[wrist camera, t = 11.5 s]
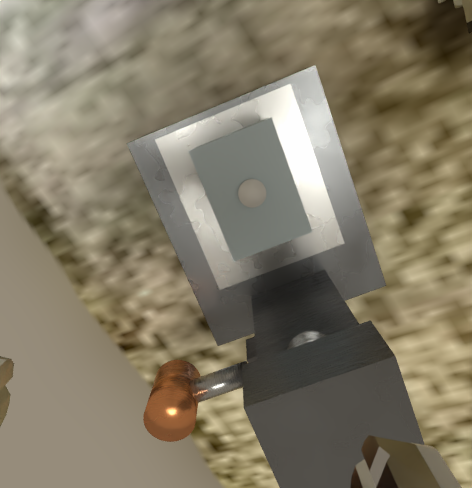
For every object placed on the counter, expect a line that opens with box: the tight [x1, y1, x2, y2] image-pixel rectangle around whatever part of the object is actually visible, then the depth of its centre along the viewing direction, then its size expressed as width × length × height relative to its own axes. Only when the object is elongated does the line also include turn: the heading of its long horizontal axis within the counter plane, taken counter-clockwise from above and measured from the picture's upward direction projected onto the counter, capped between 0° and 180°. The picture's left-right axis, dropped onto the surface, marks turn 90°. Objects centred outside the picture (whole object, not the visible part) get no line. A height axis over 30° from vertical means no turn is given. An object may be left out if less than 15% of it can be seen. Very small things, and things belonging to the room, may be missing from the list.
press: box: [127, 65, 424, 488], centre depth 25 cm, size 23×14×18 cm, turn 22°
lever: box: [144, 360, 248, 442], centre depth 26 cm, size 3×6×4 cm, turn 112°
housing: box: [188, 117, 312, 261], centre depth 27 cm, size 7×5×6 cm
